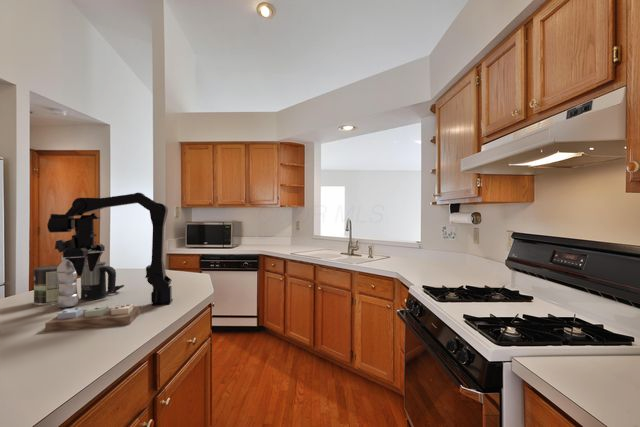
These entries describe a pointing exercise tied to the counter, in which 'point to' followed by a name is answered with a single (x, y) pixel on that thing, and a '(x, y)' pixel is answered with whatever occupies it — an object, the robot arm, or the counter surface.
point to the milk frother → (97, 282)
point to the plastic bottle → (67, 284)
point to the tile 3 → (122, 309)
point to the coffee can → (46, 285)
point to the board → (93, 320)
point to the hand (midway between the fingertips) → (85, 273)
